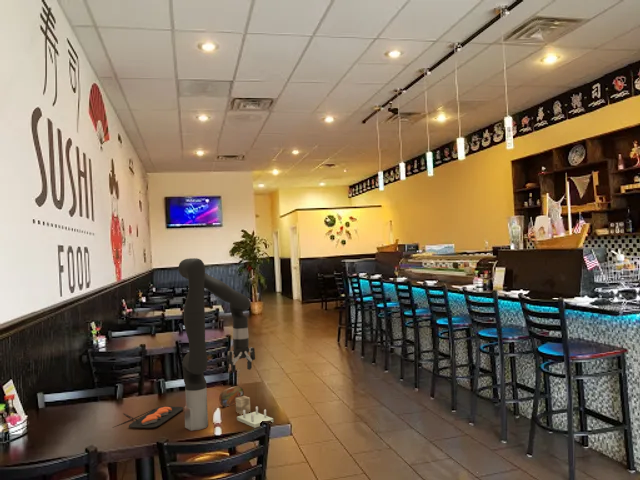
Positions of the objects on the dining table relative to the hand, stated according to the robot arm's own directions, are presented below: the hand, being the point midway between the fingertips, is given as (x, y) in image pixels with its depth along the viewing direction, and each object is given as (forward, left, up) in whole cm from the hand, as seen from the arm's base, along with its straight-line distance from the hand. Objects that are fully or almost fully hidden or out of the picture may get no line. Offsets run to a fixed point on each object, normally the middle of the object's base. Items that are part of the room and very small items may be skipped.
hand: (241, 370), depth 242 cm
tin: (+3, +16, -20) cm, 26 cm away
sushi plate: (-38, +29, -21) cm, 52 cm away
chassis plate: (-3, -15, -20) cm, 25 cm away
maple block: (0, 0, -20) cm, 20 cm away
